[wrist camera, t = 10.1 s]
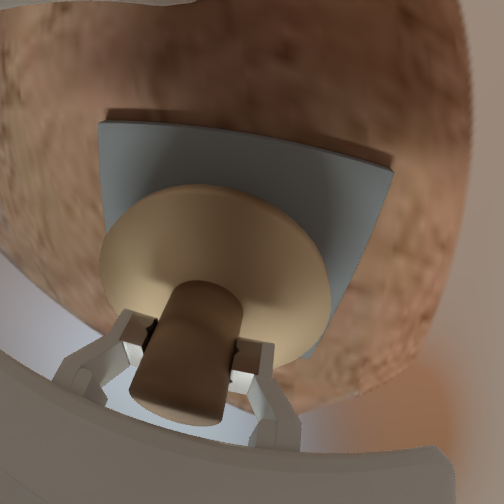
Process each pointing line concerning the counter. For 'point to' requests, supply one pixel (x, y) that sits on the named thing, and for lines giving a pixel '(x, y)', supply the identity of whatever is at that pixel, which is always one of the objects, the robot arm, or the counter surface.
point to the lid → (211, 291)
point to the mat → (250, 182)
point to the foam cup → (11, 0)
